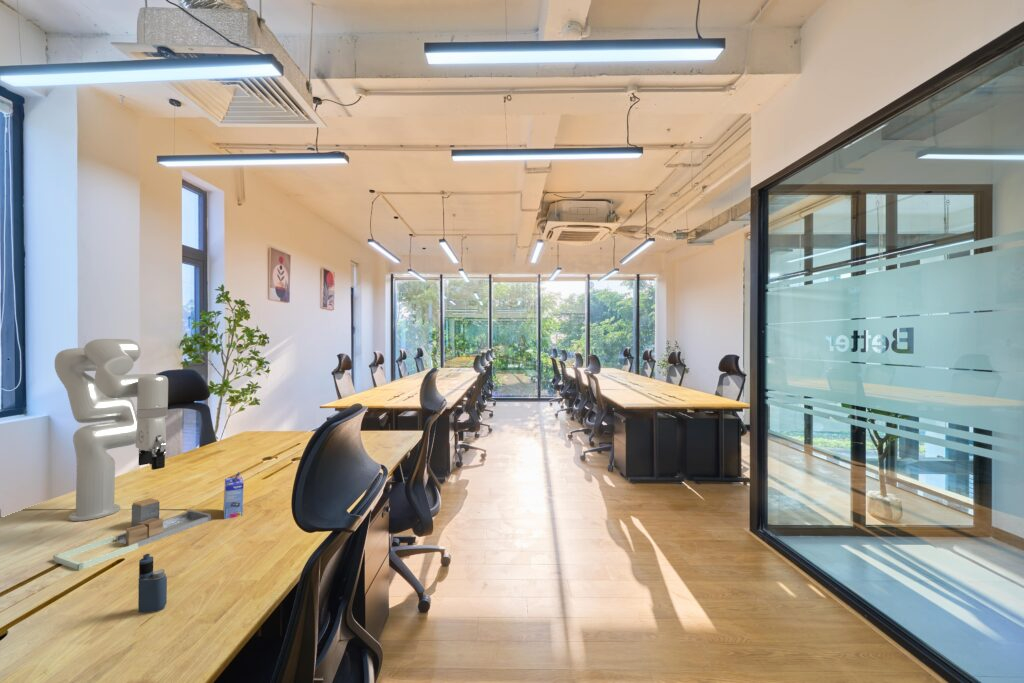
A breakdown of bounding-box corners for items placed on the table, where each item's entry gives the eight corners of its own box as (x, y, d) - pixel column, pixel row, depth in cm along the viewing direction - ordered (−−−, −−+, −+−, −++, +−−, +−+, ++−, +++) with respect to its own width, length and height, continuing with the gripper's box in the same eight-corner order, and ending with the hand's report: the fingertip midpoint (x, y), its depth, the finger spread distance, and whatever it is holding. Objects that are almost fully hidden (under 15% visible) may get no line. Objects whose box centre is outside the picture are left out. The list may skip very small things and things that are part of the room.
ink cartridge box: (243, 518, 139) (244, 475, 140) (223, 522, 136) (224, 479, 136) (241, 509, 147) (242, 469, 147) (223, 513, 144) (223, 472, 144)
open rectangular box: (115, 544, 121) (115, 534, 121) (190, 518, 139) (190, 509, 139) (137, 550, 117) (137, 540, 117) (210, 523, 135) (211, 514, 135)
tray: (53, 564, 109) (53, 555, 109) (112, 544, 121) (112, 535, 121) (78, 574, 104) (78, 564, 105) (137, 552, 116) (137, 543, 116)
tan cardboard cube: (138, 536, 124) (138, 523, 124) (152, 530, 127) (152, 517, 128) (148, 537, 123) (149, 524, 123) (162, 531, 127) (163, 518, 127)
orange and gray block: (131, 529, 131) (131, 503, 131) (150, 523, 135) (150, 497, 136) (140, 532, 129) (140, 505, 129) (159, 525, 133) (159, 499, 134)
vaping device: (144, 606, 91) (145, 552, 92) (169, 604, 92) (170, 551, 92) (134, 613, 89) (135, 558, 89) (160, 612, 89) (161, 556, 89)
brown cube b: (125, 542, 120) (126, 528, 120) (143, 537, 123) (144, 524, 123) (129, 546, 117) (129, 532, 117) (147, 541, 121) (147, 527, 121)
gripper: (126, 413, 133) (125, 465, 133) (149, 417, 124) (148, 473, 124) (155, 410, 139) (154, 460, 139) (178, 414, 131) (177, 467, 130)
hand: (151, 466), depth 131 cm, fingers open, 9 cm apart
